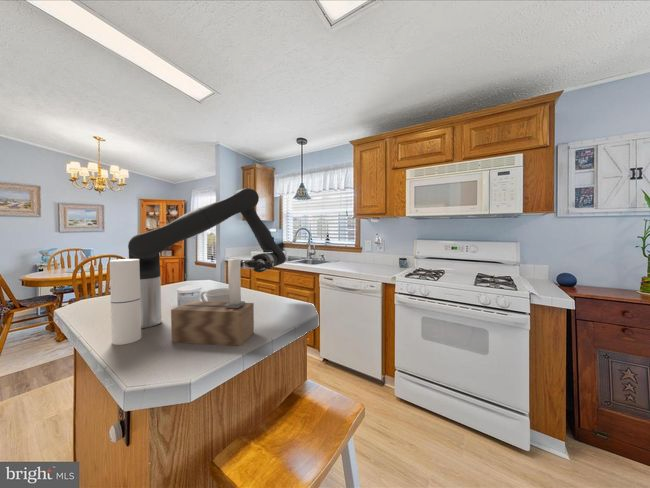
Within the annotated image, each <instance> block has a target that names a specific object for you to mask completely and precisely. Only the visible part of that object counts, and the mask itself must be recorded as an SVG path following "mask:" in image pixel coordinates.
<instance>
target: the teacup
mask: <svg viewBox="0 0 650 488" xmlns="http://www.w3.org/2000/svg"><path fill="white" fill-rule="evenodd" d="M204 295H205V297H206V298H205V297H204ZM200 301H206V302H229V287H226V288H215V289H209V290H207V291H206V290H203V291H202V292H201V293H200Z"/></svg>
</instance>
